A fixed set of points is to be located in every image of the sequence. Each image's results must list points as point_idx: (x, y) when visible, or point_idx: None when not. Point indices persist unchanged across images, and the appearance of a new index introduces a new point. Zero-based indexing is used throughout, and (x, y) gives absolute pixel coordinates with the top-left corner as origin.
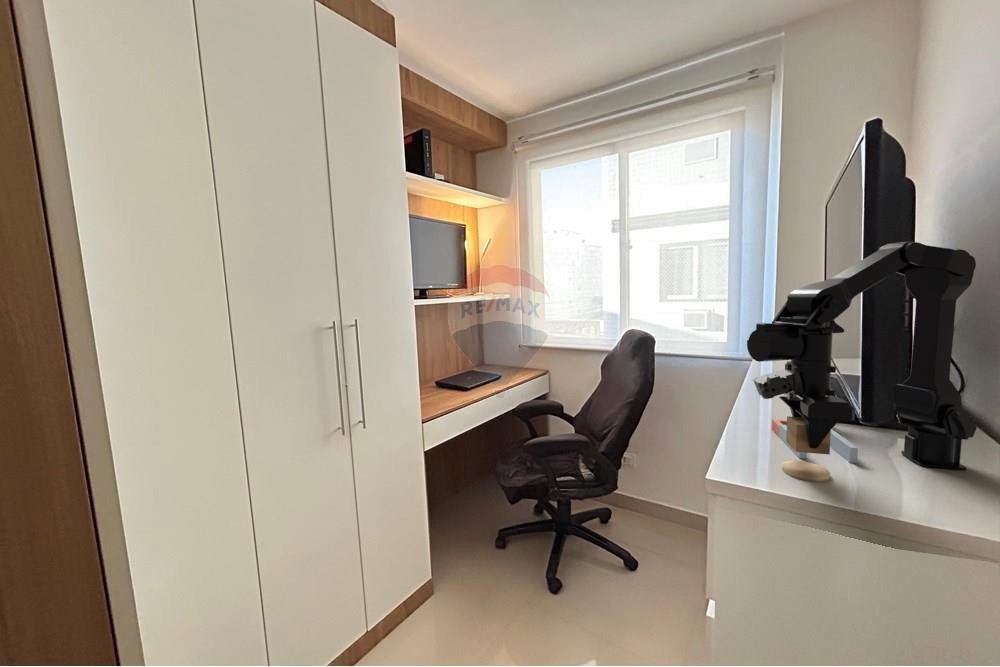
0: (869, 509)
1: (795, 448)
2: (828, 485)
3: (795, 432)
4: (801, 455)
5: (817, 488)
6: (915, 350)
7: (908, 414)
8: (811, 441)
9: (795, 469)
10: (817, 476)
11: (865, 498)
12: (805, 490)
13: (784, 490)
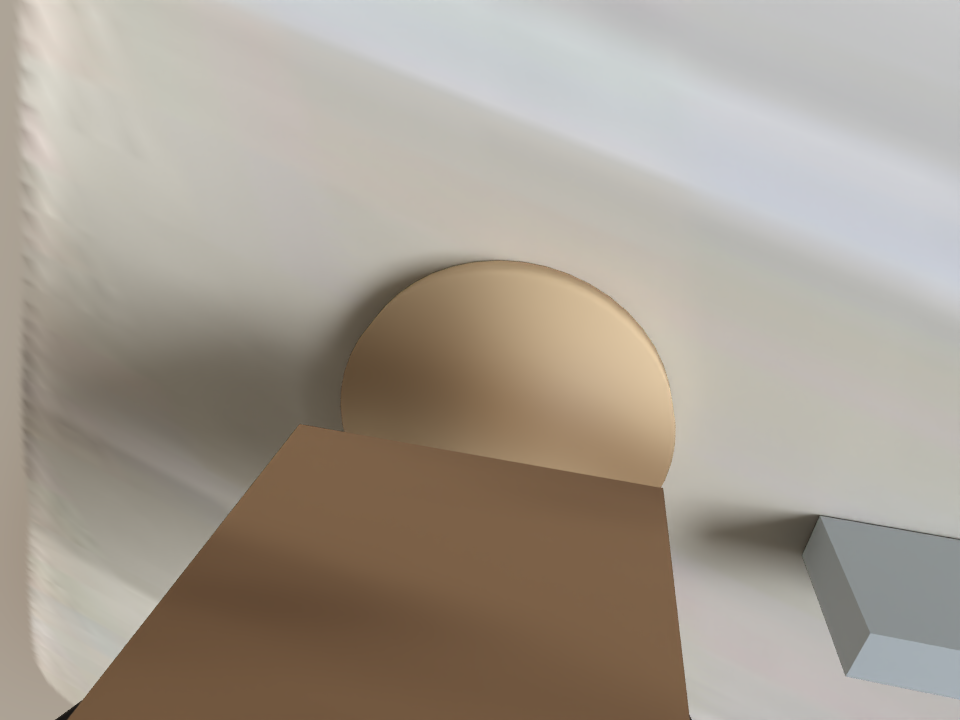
0: (73, 474)
1: (297, 449)
2: None
3: (192, 640)
4: (820, 548)
5: (242, 357)
6: None
7: None
8: None
9: (461, 349)
10: None
11: (202, 528)
12: (176, 261)
13: (106, 94)
